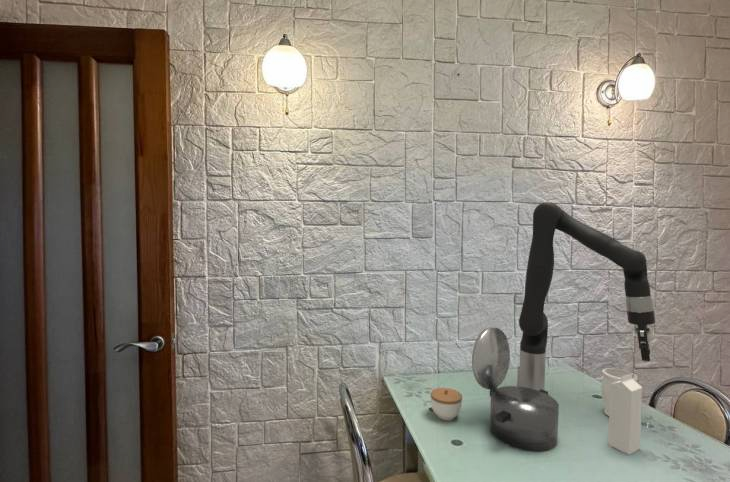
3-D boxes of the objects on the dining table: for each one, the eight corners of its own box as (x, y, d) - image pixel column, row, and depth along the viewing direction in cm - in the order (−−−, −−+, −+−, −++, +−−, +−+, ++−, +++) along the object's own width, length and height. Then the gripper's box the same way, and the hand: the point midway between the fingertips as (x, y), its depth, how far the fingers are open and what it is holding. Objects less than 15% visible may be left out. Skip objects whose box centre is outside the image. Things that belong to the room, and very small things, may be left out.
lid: (477, 397, 123) (470, 394, 126) (511, 380, 136) (504, 379, 139) (474, 333, 124) (467, 332, 126) (508, 323, 137) (501, 322, 139)
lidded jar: (443, 426, 126) (443, 399, 126) (424, 412, 136) (424, 386, 135) (468, 419, 131) (468, 392, 131) (447, 406, 141) (448, 381, 140)
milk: (639, 449, 114) (643, 377, 113) (629, 455, 111) (632, 380, 110) (618, 439, 120) (621, 369, 119) (607, 444, 117) (610, 373, 116)
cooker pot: (466, 433, 122) (467, 399, 122) (513, 406, 140) (514, 377, 140) (531, 465, 106) (532, 427, 106) (574, 431, 124) (575, 397, 124)
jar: (642, 424, 129) (644, 380, 128) (608, 421, 131) (609, 378, 130) (627, 409, 139) (628, 368, 138) (595, 406, 141) (597, 366, 140)
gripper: (627, 305, 138) (633, 351, 137) (625, 312, 126) (631, 362, 126) (653, 305, 133) (659, 352, 133) (653, 313, 122) (660, 364, 121)
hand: (646, 357), depth 129 cm, fingers open, 8 cm apart
